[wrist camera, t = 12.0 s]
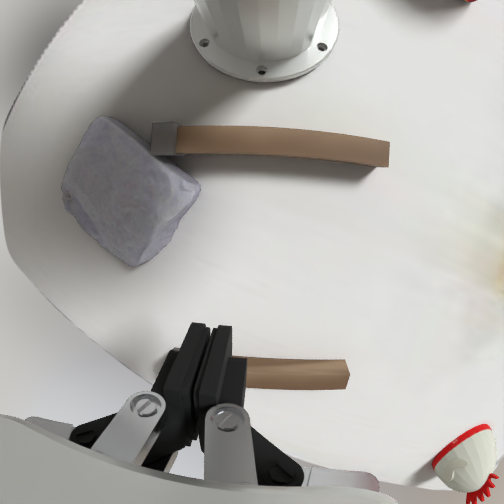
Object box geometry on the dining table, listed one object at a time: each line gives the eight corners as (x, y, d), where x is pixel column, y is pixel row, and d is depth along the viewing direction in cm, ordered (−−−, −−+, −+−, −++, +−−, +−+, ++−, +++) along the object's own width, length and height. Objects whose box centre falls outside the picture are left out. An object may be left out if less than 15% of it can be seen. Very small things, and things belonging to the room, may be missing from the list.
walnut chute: (168, 129, 22) (152, 123, 18) (378, 141, 21) (395, 138, 18) (176, 365, 28) (167, 386, 25) (340, 375, 28) (346, 397, 24)
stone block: (160, 261, 27) (214, 180, 23) (135, 285, 23) (191, 193, 19) (81, 192, 26) (117, 108, 22) (49, 205, 22) (82, 109, 17)
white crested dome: (418, 469, 35) (438, 525, 21) (466, 424, 31) (498, 482, 17) (456, 464, 36) (476, 510, 21) (498, 422, 32) (526, 469, 17)
